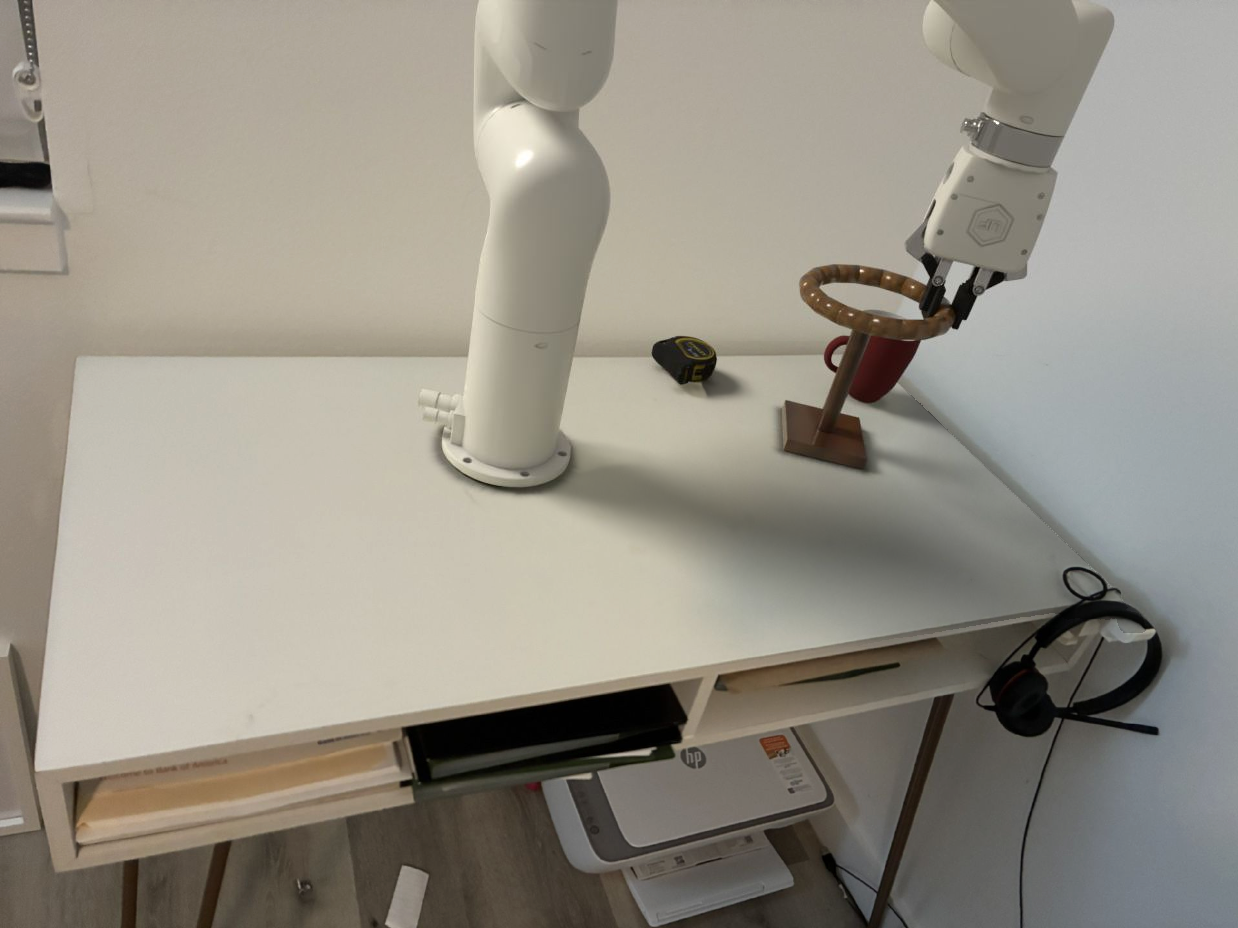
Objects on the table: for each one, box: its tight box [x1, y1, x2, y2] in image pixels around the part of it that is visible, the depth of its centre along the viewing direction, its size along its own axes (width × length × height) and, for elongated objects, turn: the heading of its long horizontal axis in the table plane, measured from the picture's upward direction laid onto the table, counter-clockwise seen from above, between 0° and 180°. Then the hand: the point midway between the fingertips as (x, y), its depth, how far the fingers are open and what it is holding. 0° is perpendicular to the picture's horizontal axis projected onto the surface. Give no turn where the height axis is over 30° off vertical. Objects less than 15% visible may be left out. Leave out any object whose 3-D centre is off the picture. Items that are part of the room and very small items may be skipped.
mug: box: [823, 309, 922, 404], centre depth 113 cm, size 11×8×10 cm
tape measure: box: [651, 335, 718, 386], centre depth 110 cm, size 7×7×4 cm
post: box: [781, 329, 871, 470], centre depth 101 cm, size 9×9×14 cm
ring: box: [798, 263, 956, 341], centre depth 95 cm, size 16×16×2 cm
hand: (939, 319), depth 95 cm, fingers closed on ring, 2 cm apart
